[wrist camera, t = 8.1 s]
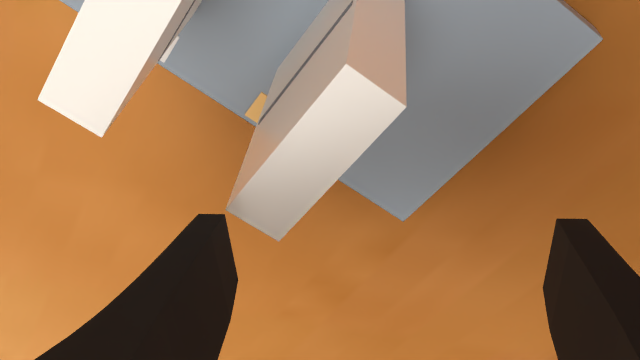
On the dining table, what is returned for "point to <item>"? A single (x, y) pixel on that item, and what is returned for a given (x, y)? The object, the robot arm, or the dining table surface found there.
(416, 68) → the domino board
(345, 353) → the dining table surface
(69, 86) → the domino
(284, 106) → the placed domino
